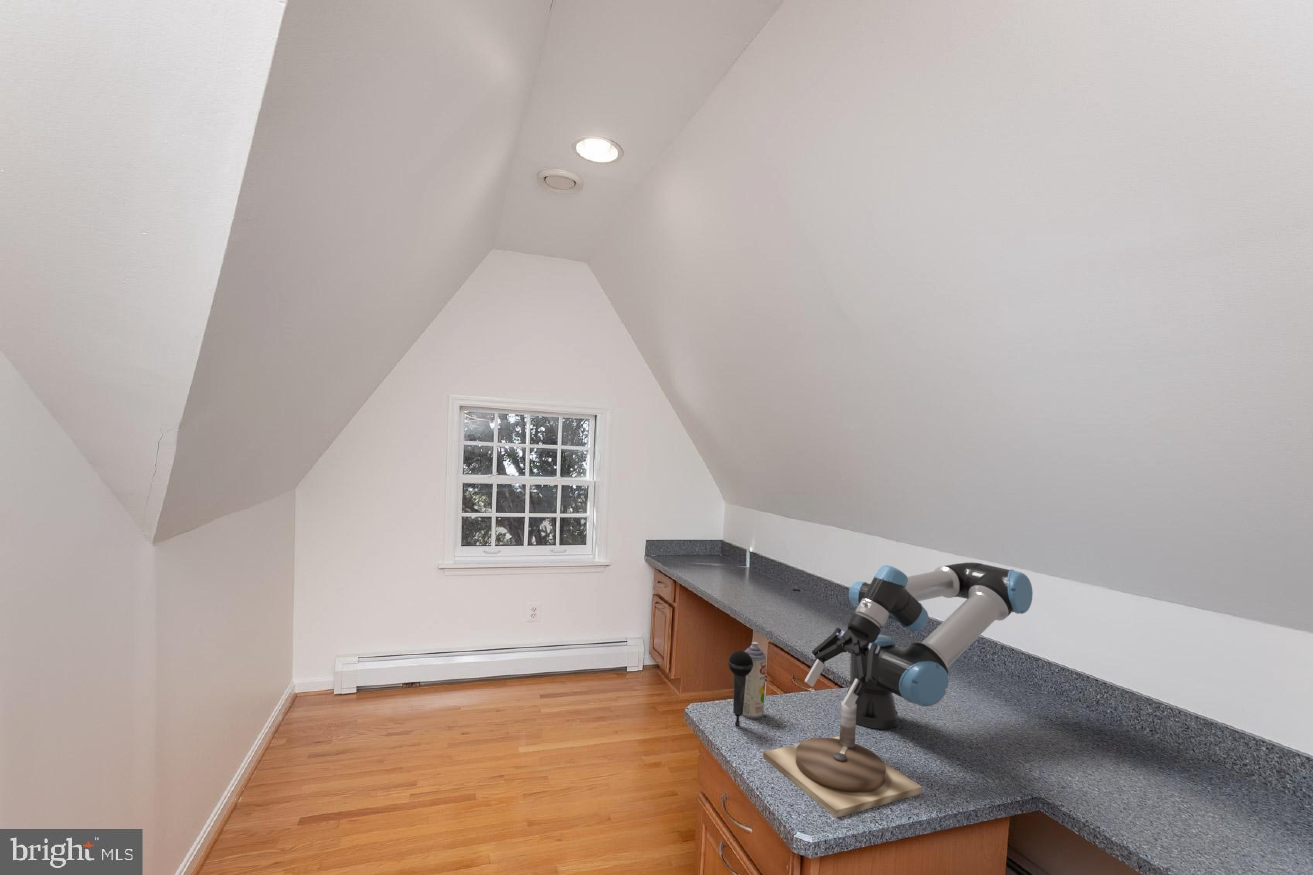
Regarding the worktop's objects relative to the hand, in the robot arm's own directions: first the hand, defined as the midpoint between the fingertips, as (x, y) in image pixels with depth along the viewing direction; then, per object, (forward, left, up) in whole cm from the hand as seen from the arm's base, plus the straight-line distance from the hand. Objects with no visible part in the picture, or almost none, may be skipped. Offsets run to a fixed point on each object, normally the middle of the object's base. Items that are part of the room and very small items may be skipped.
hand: (826, 694), depth 146 cm
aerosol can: (+3, -26, -16) cm, 31 cm away
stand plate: (+2, +8, -15) cm, 17 cm away
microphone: (+11, -21, -16) cm, 29 cm away
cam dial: (+2, +8, -14) cm, 16 cm away
